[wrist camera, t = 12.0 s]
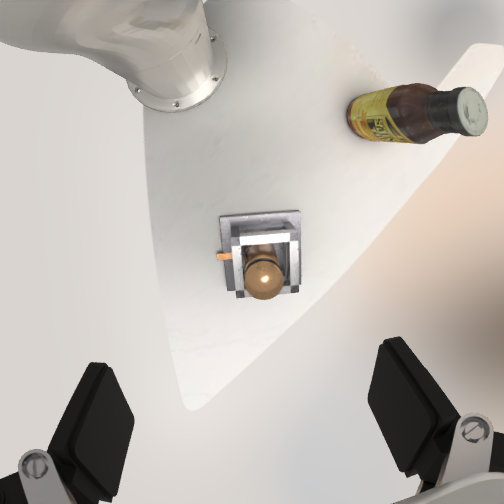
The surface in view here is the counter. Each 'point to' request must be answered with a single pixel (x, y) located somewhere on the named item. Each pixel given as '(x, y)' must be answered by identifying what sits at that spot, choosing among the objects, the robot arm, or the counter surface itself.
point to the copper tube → (262, 271)
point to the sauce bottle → (417, 113)
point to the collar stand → (261, 232)
